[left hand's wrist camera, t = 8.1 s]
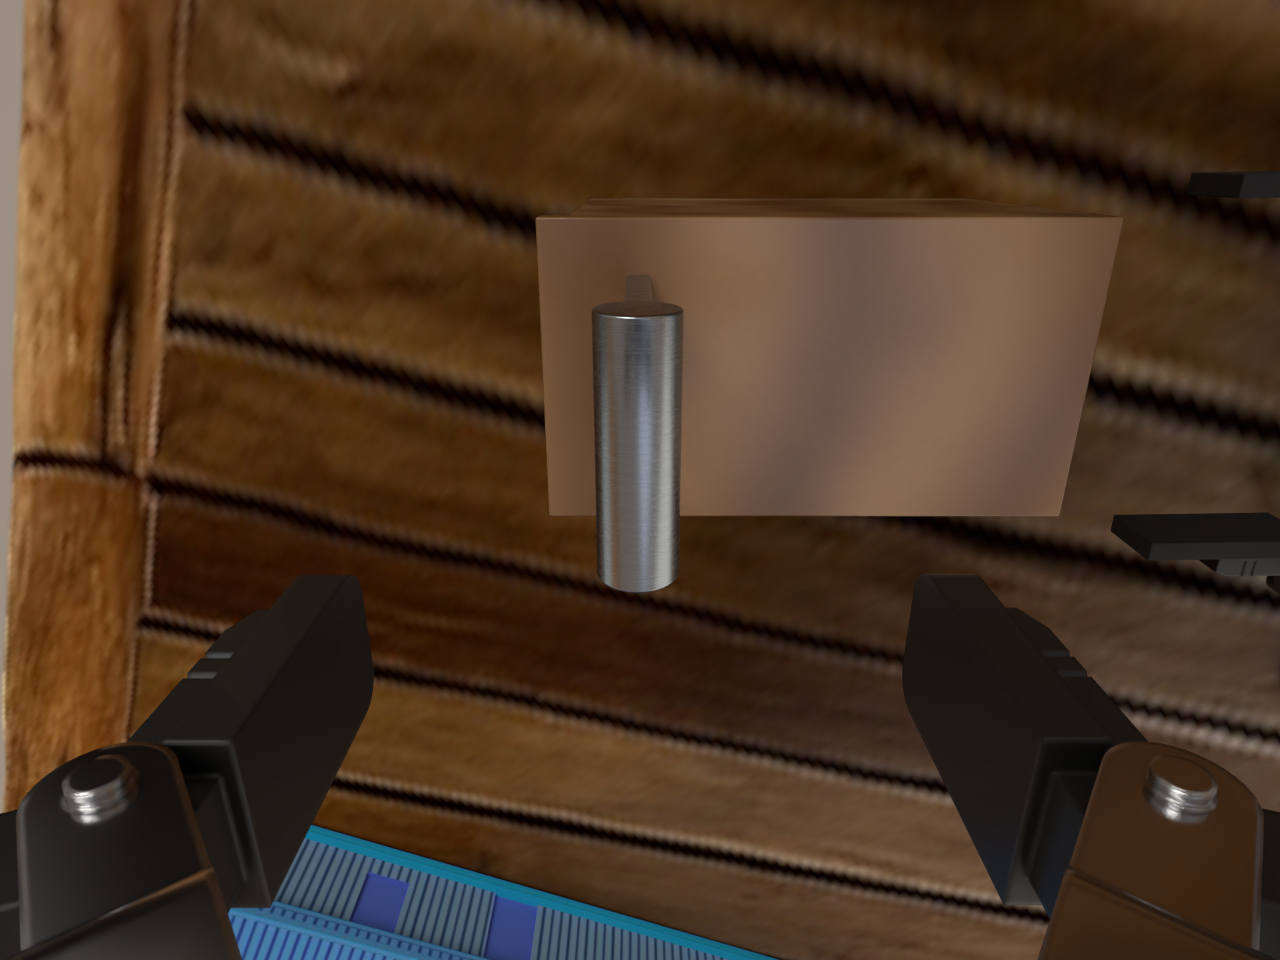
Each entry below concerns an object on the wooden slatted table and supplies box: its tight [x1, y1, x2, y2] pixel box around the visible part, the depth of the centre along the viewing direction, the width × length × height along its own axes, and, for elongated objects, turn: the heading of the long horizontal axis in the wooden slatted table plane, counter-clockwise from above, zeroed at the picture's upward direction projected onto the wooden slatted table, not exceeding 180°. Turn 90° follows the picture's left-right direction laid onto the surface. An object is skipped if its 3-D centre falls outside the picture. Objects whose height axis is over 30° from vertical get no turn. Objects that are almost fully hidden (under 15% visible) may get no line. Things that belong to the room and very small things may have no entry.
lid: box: [536, 215, 1124, 592], centre depth 22 cm, size 17×10×8 cm, turn 90°
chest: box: [571, 198, 1101, 215], centre depth 31 cm, size 16×10×11 cm, turn 90°
